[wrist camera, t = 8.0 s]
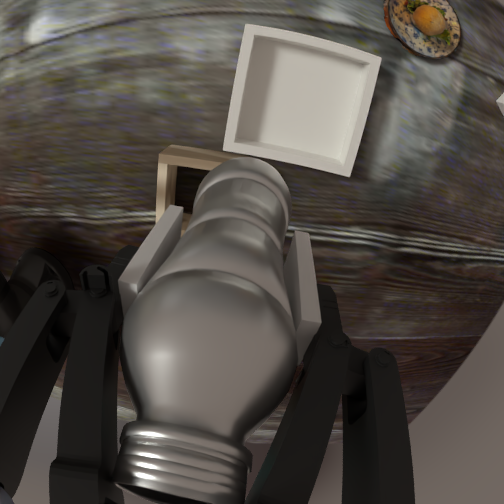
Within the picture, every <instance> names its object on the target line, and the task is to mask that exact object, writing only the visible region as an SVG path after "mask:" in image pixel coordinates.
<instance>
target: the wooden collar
mask: <svg viewBox="0 0 504 504" xmlns="http://www.w3.org/2000/svg"><path fill="white" fill-rule="evenodd" d="M238 157H249V156H244V155H238V154H232V153H226V152H220V151H214V150H207V149H200V148H193V147H186V146H178V145H170V146H169V147H167V148H166V149H165V150H163V151H162V152H161V153H160V154H159V163H158V179H157V200H156V223H157V222H158V221H159V219H160V218H161V217H162V215H163V214H164V212H165V211H166V210H167V208H168V207H169V206H170V205H174V204H175V190H176V178H177V166H185V167H191V168H198V169H204V170H212V169H214V168H215V167H217V166H218V165H220V164H222V163H223V162H225V161H228V160H230V159H233V158H238ZM251 158H253V157H251ZM191 216H192V214H187V213H183V218H182V229H181V237H182V236H183V234H184V233H185V231H186V229H187V226H188V224H189V221H190V218H191Z"/></svg>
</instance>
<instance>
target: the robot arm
mask: <svg viewBox="0 0 504 504" xmlns="http://www.w3.org/2000/svg"><path fill="white" fill-rule="evenodd" d="M182 218H183V207H180V206H174V205H170V206H169V207H168V208H167V210H166V211H165V212H164V214H163V215H162V217H161V218H160V219H159V221H158V222H157V223H156V225H155V226H154V228H153V229H152V230H151V232H150V233H149V235H148V236H147V238H146V239H145V240H144V242H143V243H142V245H141V246H140V247H136V246H131V245H127V246H126V247H124V248H122V249H121V250H120V251H119V252H118V253H117V255H116V256H115V258H114V259H113V260H112V262H111V263H110V264H109V266H108V267H106V266H104V265H99V264H97V265H90V266H88V267H86V268H84V269H83V270H82V271H81V273H80V274H79V276H80V281H81V286H82V290H74V288H73V284H72V281H71V278H70V276H69V274H68V273H67V271H66V269H65V268H64V267H63V265H62V264H61V263H60V262H59V261H58V260H57V259H56V258H55V257H54V256H52V255H51V254H50V253H48V252H46V251H44V250H42V249H39V248H30V249H28V250H26V251H25V252H24V253H23V254H22V255H21V256H20V258H19V259H18V261H17V264H16V267H15V269H14V271H13V273H12V275H11V278H10V280H9V281H8V282H7V281H6V279H5V277H4V276H3V274H2V272H1V271H0V504H14V502H13V500H12V497H13V496H14V494H15V493H16V490H17V488H18V486H19V484H20V481H21V478H22V475H23V472H24V469H25V465H26V462H27V459H28V456H29V452H30V449H31V446H32V443H33V440H34V437H35V434H36V431H37V429H38V425H39V423H40V420H41V418H42V415H43V412H44V410H45V407H46V405H47V402H48V399H49V397H50V395H51V392H52V390H53V387H54V385H55V383H56V380H57V378H58V376H59V373H60V371H61V369H62V367H63V364H64V362H65V360H66V358H67V356H68V358H67V364H66V370H65V377H64V383H63V391H62V399H61V407H60V418H59V430H58V445H57V446H58V447H57V457H56V459H55V460H54V461H53V462H52V463H51V466H50V472H49V493H50V494H49V495H50V504H124V497H123V492H122V490H121V489H119V488H118V487H116V486H114V485H113V484H112V479H113V477H112V474H113V471H114V467H115V464H116V461H117V458H118V448H117V382H118V361H119V346H120V330H119V327H120V325H121V323H122V321H123V319H124V317H125V315H126V313H127V311H128V309H129V308H130V306H131V305H132V303H133V302H134V300H135V299H136V297H137V295H138V294H139V293H140V292H141V291H142V289H143V288H144V287H145V285H146V284H147V283H148V282H149V280H150V279H151V278H152V277H153V275H154V274H155V273H156V272H157V271H158V269H159V268H160V267H161V266H162V264H163V263H164V262H165V261H166V260H167V258H168V257H169V256H170V255H171V253H172V252H173V250H174V248H175V247H176V245H177V244H178V242H179V240H180V239H181V229H182ZM284 278H285V286H286V290H287V295H288V299H289V304H290V308H291V313H292V317H293V322H294V327H295V332H296V341H297V350H298V363H297V365H300V363H301V361H302V360H303V361H304V367H303V369H302V371H301V373H300V374H299V376H298V378H297V379H296V381H295V382H296V386H295V388H294V391H293V394H292V396H291V399H290V401H289V404H288V406H287V409H286V411H285V414H284V416H283V419H282V421H281V423H280V426H279V428H278V430H277V433H276V435H275V438H274V440H273V442H272V444H271V447H270V449H269V451H268V453H267V456H266V458H265V460H264V463H263V464H262V467H261V469H260V471H259V473H258V475H257V477H256V479H255V482H254V484H253V486H252V488H251V490H250V492H249V494H248V496H247V498H246V500H245V504H308V501H309V498H310V496H311V493H312V490H313V488H314V485H315V482H316V479H317V476H318V473H319V470H320V467H321V464H322V461H323V458H324V455H325V452H326V448H327V445H328V442H329V438H330V435H331V431H332V428H333V424H334V420H335V417H336V413H337V409H338V405H339V401H340V397H341V393H342V410H343V482H342V483H343V485H342V504H415V494H414V478H413V466H412V456H411V446H410V438H409V430H408V423H407V416H406V410H405V404H404V398H403V392H402V387H401V381H400V376H399V371H398V366H397V362H396V359H395V357H394V356H393V354H392V353H391V352H389V351H388V350H386V349H383V348H374V349H372V350H371V351H370V353H368V352H365V351H363V350H360V349H358V348H356V347H354V346H352V345H351V341H350V339H349V337H348V336H347V335H346V334H345V333H343V330H342V325H341V319H340V314H339V310H338V304H337V299H336V294H335V292H334V291H333V290H332V288H331V287H330V286H327V285H322V284H317V283H316V277H315V270H314V263H313V257H312V250H311V244H310V238H309V233H305V232H301V231H296V230H295V233H294V236H293V239H292V242H291V246H290V249H289V252H288V255H287V258H286V262H285V265H284Z"/></svg>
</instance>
